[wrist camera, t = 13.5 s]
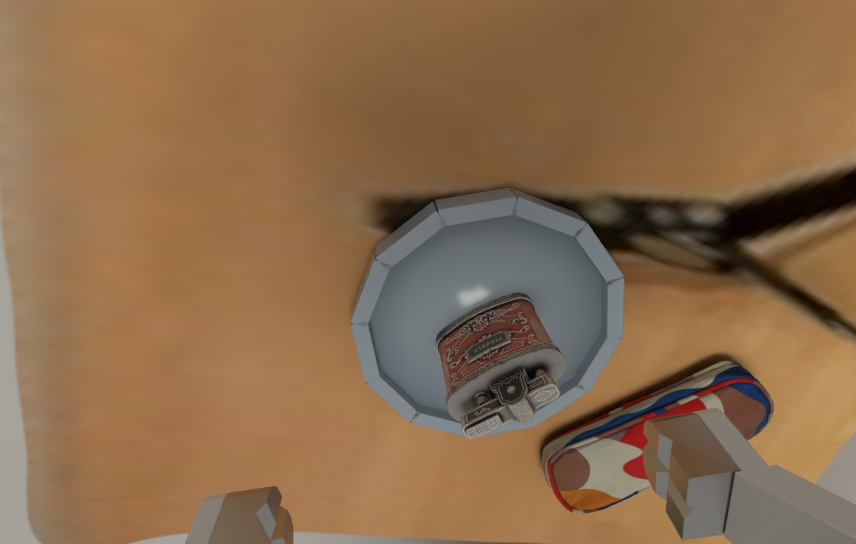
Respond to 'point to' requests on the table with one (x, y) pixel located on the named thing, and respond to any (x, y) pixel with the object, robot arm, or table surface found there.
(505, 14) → the table surface
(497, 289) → the dish
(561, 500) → the pencil case
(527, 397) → the lighter
